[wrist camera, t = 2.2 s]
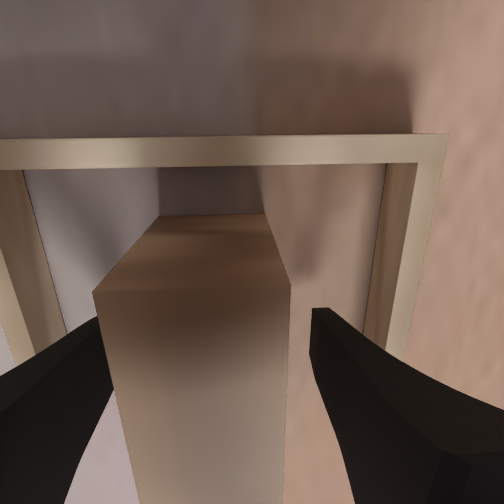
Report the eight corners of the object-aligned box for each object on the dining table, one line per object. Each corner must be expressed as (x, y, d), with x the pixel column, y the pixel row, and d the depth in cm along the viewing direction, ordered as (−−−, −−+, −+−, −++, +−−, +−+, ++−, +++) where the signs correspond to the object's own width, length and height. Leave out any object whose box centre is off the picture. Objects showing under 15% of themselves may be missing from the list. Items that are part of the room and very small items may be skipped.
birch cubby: (68, 404, 15) (44, 443, 13) (-12, 139, 10) (-66, 141, 9) (371, 388, 15) (390, 424, 14) (413, 133, 11) (449, 134, 9)
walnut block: (179, 380, 15) (146, 533, 9) (159, 215, 12) (92, 291, 6) (264, 376, 15) (282, 523, 9) (264, 213, 12) (290, 285, 6)
